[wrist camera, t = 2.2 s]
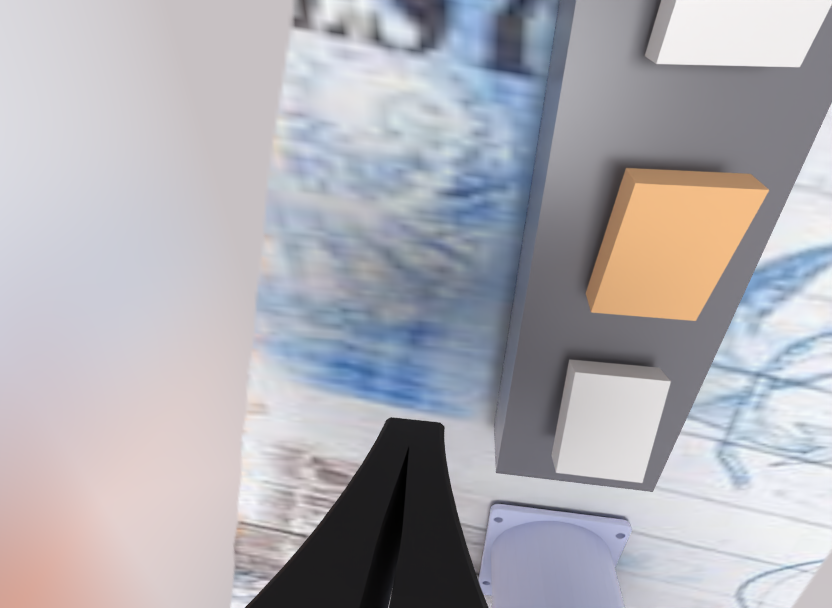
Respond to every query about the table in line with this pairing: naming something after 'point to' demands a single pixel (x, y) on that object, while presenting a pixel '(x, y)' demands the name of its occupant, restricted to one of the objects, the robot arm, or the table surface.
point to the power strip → (595, 197)
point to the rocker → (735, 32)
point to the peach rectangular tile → (670, 241)
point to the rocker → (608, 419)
